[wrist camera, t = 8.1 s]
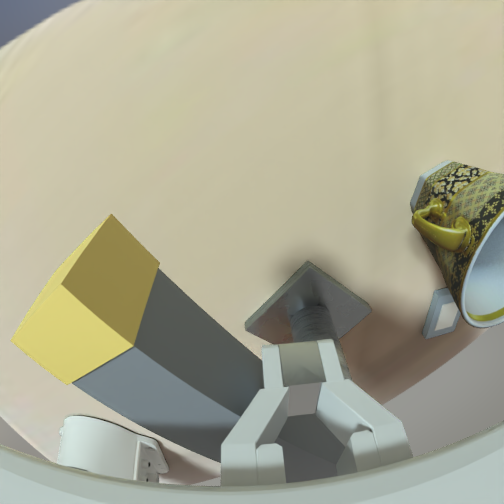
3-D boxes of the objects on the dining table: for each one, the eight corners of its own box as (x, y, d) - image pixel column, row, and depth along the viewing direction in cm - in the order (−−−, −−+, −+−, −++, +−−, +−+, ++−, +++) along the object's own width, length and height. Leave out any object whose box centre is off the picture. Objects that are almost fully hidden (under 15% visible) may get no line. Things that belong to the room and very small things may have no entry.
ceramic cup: (497, 163, 20) (578, 213, 12) (457, 259, 25) (515, 329, 17) (382, 107, 19) (476, 141, 10) (341, 234, 24) (392, 325, 15)
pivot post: (308, 354, 30) (332, 467, 20) (244, 322, 28) (251, 453, 17) (368, 303, 27) (419, 419, 17) (307, 260, 25) (352, 397, 14)
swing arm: (383, 440, 17) (394, 480, 14) (325, 463, 18) (332, 501, 15) (125, 200, 8) (75, 268, 5) (47, 280, 9) (4, 348, 6)
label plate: (450, 325, 30) (454, 332, 29) (421, 333, 30) (425, 340, 29) (464, 283, 27) (469, 290, 26) (434, 290, 27) (439, 297, 26)
